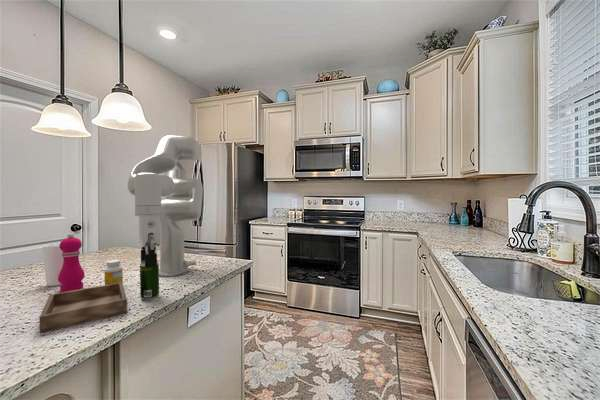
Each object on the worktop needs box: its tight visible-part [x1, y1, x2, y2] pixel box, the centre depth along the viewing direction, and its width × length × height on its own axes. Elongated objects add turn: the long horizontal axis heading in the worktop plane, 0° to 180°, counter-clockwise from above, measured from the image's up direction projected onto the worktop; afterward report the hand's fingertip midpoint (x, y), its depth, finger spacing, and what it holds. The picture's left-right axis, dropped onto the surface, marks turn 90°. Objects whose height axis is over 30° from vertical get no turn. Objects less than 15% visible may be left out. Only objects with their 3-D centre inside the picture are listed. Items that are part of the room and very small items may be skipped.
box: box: [39, 282, 128, 334], centre depth 78 cm, size 18×18×4 cm
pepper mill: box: [58, 232, 86, 293], centre depth 95 cm, size 7×7×20 cm
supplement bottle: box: [104, 259, 124, 285], centre depth 96 cm, size 5×5×10 cm
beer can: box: [139, 259, 160, 301], centre depth 87 cm, size 5×5×12 cm
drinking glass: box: [42, 242, 64, 287], centre depth 100 cm, size 7×7×15 cm
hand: (148, 263), depth 87 cm, fingers open, 9 cm apart
